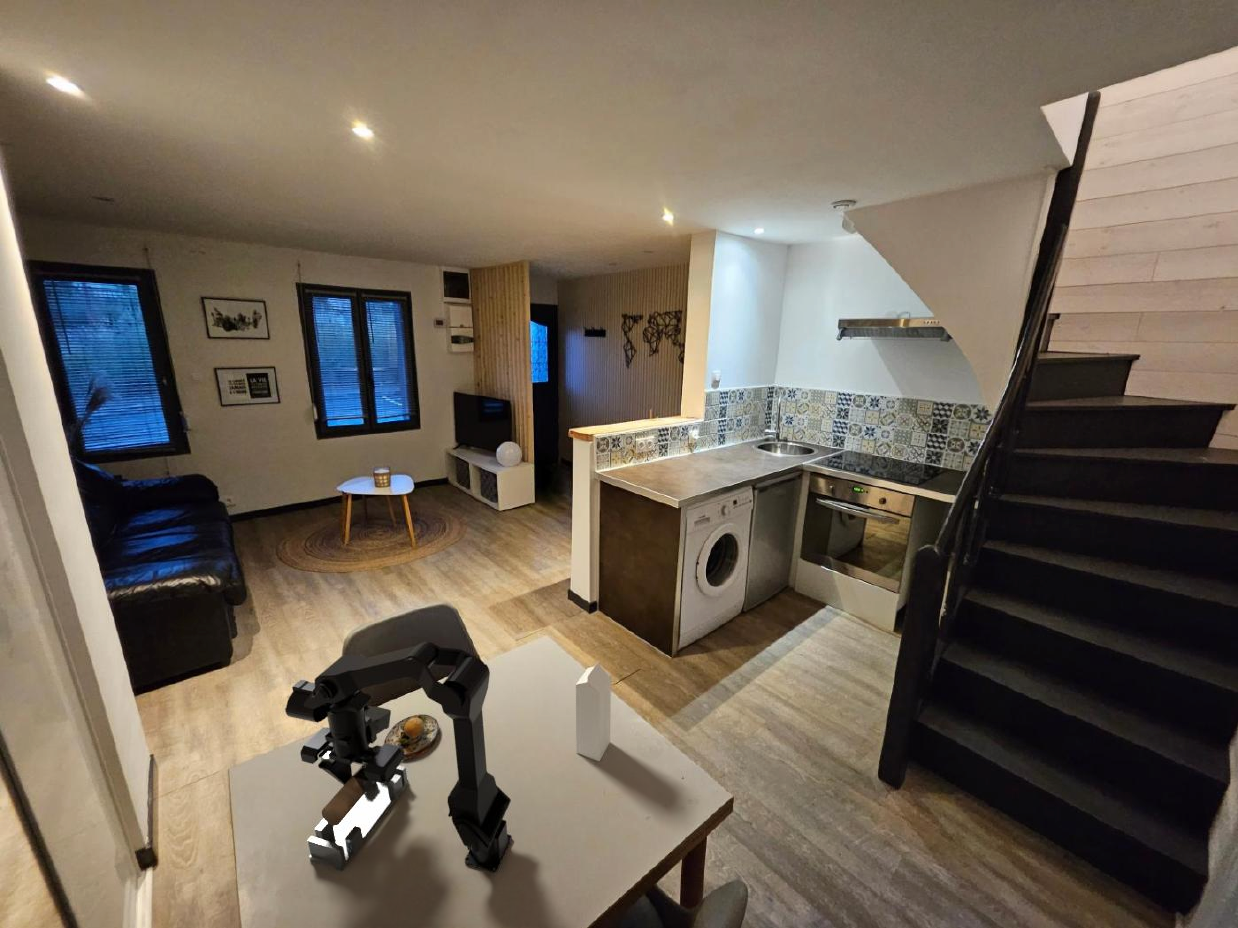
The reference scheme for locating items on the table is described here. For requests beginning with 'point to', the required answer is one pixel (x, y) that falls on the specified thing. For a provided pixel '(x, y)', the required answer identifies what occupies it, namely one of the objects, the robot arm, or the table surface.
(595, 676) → the milk
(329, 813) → the cylinder
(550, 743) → the table surface
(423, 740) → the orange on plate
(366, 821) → the cradle
